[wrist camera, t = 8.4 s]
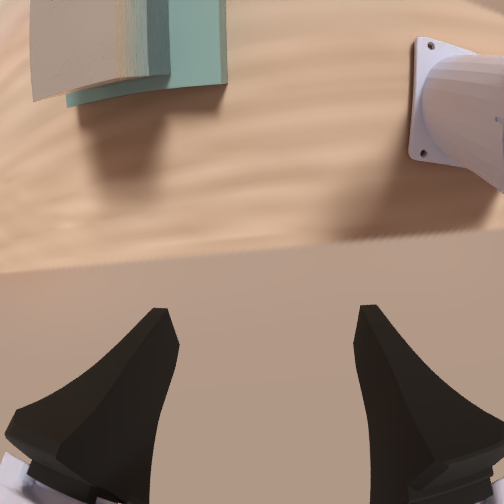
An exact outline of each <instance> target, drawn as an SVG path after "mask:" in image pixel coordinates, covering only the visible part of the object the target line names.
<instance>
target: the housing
mask: <svg viewBox="0 0 504 504" xmlns="http://www.w3.org/2000/svg"><path fill="white" fill-rule="evenodd" d="M30 68H31V83H32V94H33V102H35V101H39V100H43V99H47V98H51V97H56V96H60V95H65V94H69V93H74V92H79V91H84V90H90V89H95V88H101V87H106V86H110V85H115V84H119V83H124V82H129V81H135V80H140V79H146V78H152V77H159V76H165V75H171V61H170V37H169V0H31V3H30Z"/></svg>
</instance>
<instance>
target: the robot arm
mask: <svg viewBox="0 0 504 504" xmlns="http://www.w3.org/2000/svg"><path fill="white" fill-rule="evenodd" d="M428 42H429V43H430V44H431V45H432V49H431V50H430V49H429V48H428V45H427V44H428ZM422 150H425V154H424V155H423V156H420V152H421V151H422ZM408 154H409V156H410V157H411V158H412V159H414V160H418V161H425V162H432V163H438V164H445V165H451V166H456V167H462V168H467V169H469V170H471V171H472V172H473V173H475V174H476V175H478V176H479V177H481V178H482V179H484V180H485V181H487V182H488V183H489V184H491V185H492V186H494V187H495V188H496V189H498V190H499V191H500V192H502V193H503V194H504V56H503V55H479V54H477V53H474V52H471V51H469V50H466V49H463V48H460V47H457V46H454V45H451V44H448V43H444V42H441V41H438V40H434V39H431V38H427V37H422V36H420V37H417V38H416V39H415V42H414V86H413V103H412V116H411V127H410V137H409V146H408ZM179 345H180V344H179V341H178V339H177V336H176V333H175V330H174V327H173V324H172V321H171V318H170V315H169V312H168V309H166V308H153V309H152V310H151V311H150V312H149V313H148V314H147V315H146V316H145V317H144V318H143V319H142V320H141V321H140V322H139V323H138V324H137V325H136V326H135V327H134V328H133V329H132V330H131V331H130V332H129V333H128V334H127V335H126V336H125V337H124V338H123V339H122V340H121V341H120V342H119V343H118V344H117V345H116V346H115V347H114V348H113V349H111V350H110V351H109V352H108V353H107V354H106V355H105V356H104V357H103V358H102V359H101V360H99V362H97V363H96V364H95V365H94V366H92V367H91V368H90V369H89V370H87V371H86V372H85V373H83V374H82V375H81V376H79V377H78V378H76V379H75V380H73V381H72V382H70V383H69V384H67V385H66V386H64V387H63V388H61V389H59V390H58V391H56V392H54V393H53V394H51V395H49V396H47V397H45V398H43V399H41V400H39V401H37V402H34V403H32V404H30V405H27V406H25V407H23V408H20V409H17V410H16V412H15V414H14V416H13V417H12V420H11V421H10V423H9V425H8V428H7V430H6V432H5V436H6V438H7V439H8V440H9V441H10V442H11V443H12V444H13V445H14V446H16V447H17V448H18V449H19V450H20V451H22V452H23V453H24V454H25V455H27V456H28V457H29V458H30V459H32V461H31V464H28V463H26V462H25V461H23V460H21V459H20V458H18V457H16V456H14V455H13V454H11V453H9V452H6V453H5V456H4V458H3V460H2V462H1V465H0V504H118V503H121V504H149V491H150V475H151V464H152V456H153V449H154V442H155V436H156V430H157V425H158V420H159V417H160V413H161V410H162V407H163V404H164V401H165V398H166V395H167V392H168V388H169V385H170V382H171V379H172V376H173V373H174V370H175V366H176V362H177V356H178V351H179ZM353 345H354V355H355V363H356V369H357V373H358V378H359V383H360V387H361V391H362V396H363V400H364V405H365V410H366V414H367V420H368V428H369V440H370V460H371V491H370V504H504V477H502V478H500V479H498V480H496V481H495V482H493V483H491V481H490V477H491V476H493V469H492V466H493V465H494V464H496V463H497V462H498V461H499V460H501V459H502V458H503V457H504V422H503V421H501V420H500V419H498V418H496V417H494V416H492V415H491V414H489V413H486V412H485V411H483V410H482V409H480V408H479V407H477V406H476V405H474V404H472V403H471V402H470V401H468V400H467V399H465V398H464V397H463V396H461V395H460V394H459V393H458V392H456V391H455V390H454V389H452V388H451V387H450V386H449V385H447V384H446V383H445V382H444V381H443V380H442V379H440V378H439V377H438V376H437V375H436V374H435V373H434V372H433V371H432V370H431V369H430V368H429V367H428V366H427V365H426V364H425V363H424V362H423V361H422V360H421V359H420V357H418V355H417V354H416V353H415V352H414V351H413V350H412V349H411V347H410V346H409V345H408V344H407V343H406V342H405V340H404V339H403V338H402V337H401V336H400V334H399V333H398V332H397V331H396V329H395V328H394V327H393V326H392V324H391V323H390V321H389V320H388V319H387V318H386V316H385V315H384V314H383V312H382V311H381V310H380V309H379V307H378V306H377V305H361V306H360V311H359V316H358V322H357V328H356V332H355V338H354V342H353Z"/></svg>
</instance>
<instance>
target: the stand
mask: <svg viewBox="0 0 504 504" xmlns="http://www.w3.org/2000/svg"><path fill="white" fill-rule="evenodd" d="M169 37H170V61H171V75H165V76H159V77H152V78H146V79H140V80H135V81H129V82H124V83H119V84H115V85H110V86H106V87H101V88H95V89H90V90H84V91H79V92H74V93H69V94H66V102H67V108H69V107H73V106H77V105H81V104H85V103H89V102H94V101H98V100H103V99H108V98H113V97H118V96H123V95H129V94H135V93H141V92H148V91H155V90H162V89H170V88H179V87H189V86H200V85H214V84H227V83H228V74H227V40H226V0H169Z"/></svg>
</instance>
